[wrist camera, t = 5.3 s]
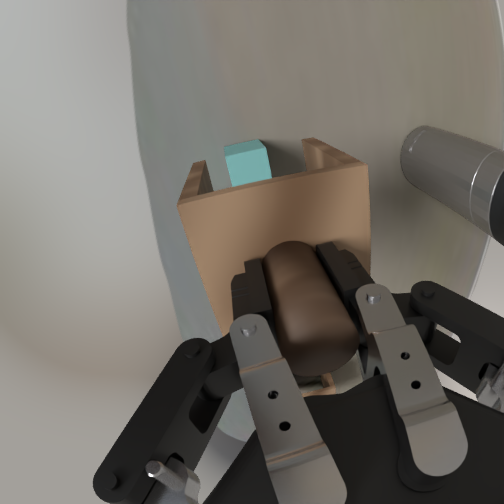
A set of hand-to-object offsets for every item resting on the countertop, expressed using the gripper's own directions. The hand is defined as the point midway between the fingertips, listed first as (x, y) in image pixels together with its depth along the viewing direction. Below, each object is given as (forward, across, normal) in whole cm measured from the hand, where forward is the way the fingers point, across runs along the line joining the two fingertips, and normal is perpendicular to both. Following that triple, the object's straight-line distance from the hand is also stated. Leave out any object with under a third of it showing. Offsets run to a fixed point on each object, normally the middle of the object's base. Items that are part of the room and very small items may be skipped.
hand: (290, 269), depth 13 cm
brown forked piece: (+8, 0, 0) cm, 8 cm away
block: (+24, 0, 0) cm, 24 cm away
